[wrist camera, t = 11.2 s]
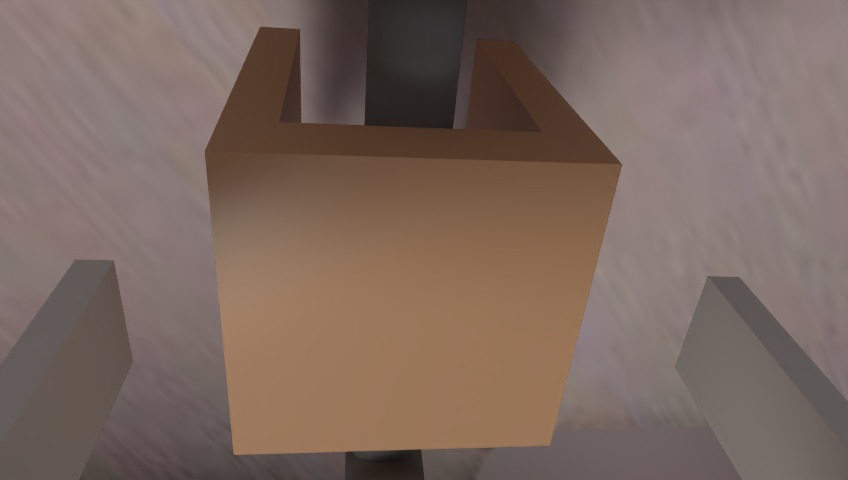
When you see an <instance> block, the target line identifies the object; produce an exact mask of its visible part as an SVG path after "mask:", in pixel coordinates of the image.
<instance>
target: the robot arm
mask: <svg viewBox="0 0 848 480" xmlns="http://www.w3.org/2000/svg"><path fill="white" fill-rule="evenodd" d="M132 362H133V359H132V354H131V349H130V344H129V338H128V333H127V328H126V322H125V317H124V312H123V306H122V301H121V296H120V291H119V285H118V280H117V275H116V269H115V264H114V261H109V260H75V261H74V262H73V264H72V265H71V266H70V268H69V269H68V271H67V272H66V274H65V275H64V276H63V278H62V279H61V281H60V282H59V283H58V285H57V286H56V288H55V289H54V290H53V292H52V293H51V295H50V296H49V298H48V299H47V300H46V302H45V303H44V305H43V306H42V307H41V309H40V310H39V312H38V313H37V314H36V316H35V317H34V319H33V320H32V321H31V323H30V324H29V326H28V327H27V329H26V330H25V331H24V333H23V334H22V336H21V337H20V338H19V340H18V341H17V343H16V344H15V345H14V347H13V348H12V350H11V351H10V352H9V354H8V355H7V357H6V358H5V360H4V361H3V362H2V364H1V365H0V480H79V479H80V476H81V474H82V472H83V470H84V468H85V465H86V463H87V461H88V459H89V457H90V454H91V452H92V450H93V448H94V446H95V443H96V441H97V439H98V437H99V435H100V432H101V430H102V428H103V426H104V424H105V421H106V419H107V417H108V415H109V413H110V410H111V408H112V406H113V404H114V402H115V400H116V397H117V395H118V393H119V391H120V389H121V386H122V384H123V382H124V380H125V378H126V375H127V373H128V371H129V369H130V367H131V364H132ZM675 368H676V370H677V372H678V373H679V375H680V377H681V378H682V380H683V382H684V383H685V385H686V387H687V388H688V390H689V392H690V393H691V395H692V397H693V398H694V400H695V402H696V403H697V405H698V407H699V408H700V410H701V412H702V413H703V415H704V417H705V418H706V420H707V422H708V423H709V425H710V427H711V428H712V430H713V432H714V433H715V435H716V437H717V438H718V440H719V442H720V443H721V445H722V447H723V448H724V450H725V452H726V453H727V455H728V457H729V458H730V460H731V462H732V463H733V465H734V467H735V468H736V470H737V472H738V473H739V475H740V477H741V478H742V480H848V401H847V400H846V399H845V398H844V397H843V395H842V394H841V393H840V392H839V391H838V390H837V389H836V387H835V386H834V385H833V384H832V383H831V382H830V381H829V379H828V378H827V377H826V376H825V375H824V374H823V373H822V371H821V370H820V369H819V368H818V367H817V366H816V365H815V363H814V362H813V361H812V360H811V359H810V358H809V357H808V355H807V354H806V353H805V352H804V351H803V350H802V349H801V347H800V346H799V345H798V344H797V343H796V342H795V341H794V339H793V338H792V337H791V336H790V335H789V334H788V333H787V331H786V330H785V329H784V328H783V327H782V326H781V325H780V323H779V322H778V321H777V320H776V319H775V318H774V317H773V315H772V314H771V313H770V312H769V311H768V310H767V309H766V307H765V306H764V305H763V304H762V303H761V302H760V301H759V299H758V298H757V297H756V296H755V295H754V294H753V293H752V291H751V290H750V289H749V288H748V287H747V286H746V285H745V283H744V282H743V281H742V280H741V279H740V278H739V277H715V276H708V277H707V280H706V283H705V285H704V288H703V291H702V294H701V296H700V299H699V302H698V305H697V307H696V310H695V313H694V316H693V318H692V321H691V324H690V327H689V329H688V332H687V335H686V338H685V340H684V343H683V346H682V349H681V351H680V354H679V357H678V360H677V362H676V365H675Z"/></svg>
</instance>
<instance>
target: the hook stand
mask: <svg viewBox="0 0 848 480" xmlns="http://www.w3.org/2000/svg"><path fill="white" fill-rule="evenodd" d="M466 5H467V0H369V19H368V46H367V73H366V99H365V125H366V126H392V127H416V128H445V129H453V123H454V114H455V104H456V95H457V86H458V77H459V68H460V59H461V50H462V41H463V32H464V23H465V14H466ZM345 480H424V472H423V463H422V454H421V449H414V450H380V451H346V460H345Z"/></svg>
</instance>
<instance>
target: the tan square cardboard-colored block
mask: <svg viewBox="0 0 848 480" xmlns="http://www.w3.org/2000/svg"><path fill="white" fill-rule="evenodd" d="M205 159H206V169H207V180H208V190H209V200H210V211H211V221H212V232H213V242H214V252H215V263H216V273H217V284H218V294H219V305H220V315H221V325H222V336H223V346H224V357H225V367H226V377H227V388H228V398H229V409H230V419H231V429H232V440H233V450H234V455H244V454H278V453H312V452H346V451H380V450H414V449H449V448H483V447H516V446H549V445H550V442H551V439H552V435H553V431H554V427H555V423H556V420H557V416H558V412H559V408H560V404H561V400H562V396H563V392H564V388H565V385H566V381H567V377H568V373H569V369H570V365H571V361H572V357H573V353H574V350H575V346H576V342H577V338H578V334H579V330H580V326H581V322H582V319H583V315H584V311H585V307H586V303H587V299H588V295H589V291H590V287H591V284H592V280H593V276H594V272H595V268H596V264H597V260H598V256H599V252H600V249H601V245H602V241H603V237H604V233H605V229H606V225H607V221H608V217H609V214H610V210H611V206H612V202H613V198H614V194H615V190H616V186H617V182H618V179H619V175H620V171H621V167H622V164H621V163H620V162H619V160H618V159H617V158H616V157H615V156H614V155H613V154H612V152H611V151H610V150H609V149H608V148H607V147H606V146H605V145H604V143H603V142H602V141H601V140H600V139H599V138H598V137H597V135H596V134H595V133H594V132H593V131H592V130H591V129H590V128H589V126H588V125H587V124H586V123H585V122H584V121H583V120H582V119H581V117H580V116H579V115H578V114H577V113H576V112H575V111H574V109H573V108H572V107H571V106H570V105H569V104H568V103H567V102H566V100H565V99H564V98H563V97H562V96H561V95H560V94H559V93H558V91H557V90H556V89H555V88H554V87H553V86H552V85H551V83H550V82H549V81H548V80H547V79H546V78H545V77H544V76H543V74H542V73H541V72H540V71H539V70H538V69H537V68H536V67H535V65H534V64H533V63H532V62H531V61H530V60H529V59H528V57H527V56H526V55H525V54H524V53H523V52H522V51H521V50H520V48H519V47H518V46H517V45H516V44H515V43H514V42H513V41H498V40H480V39H477V43H476V52H475V60H474V68H473V76H472V85H471V93H470V101H469V109H468V118H467V126H466V129H445V128H416V127H392V126H366V125H339V124H313V123H301V70H300V29H287V28H270V27H260V29H259V31H258V33H257V35H256V38H255V40H254V42H253V44H252V46H251V49H250V51H249V53H248V55H247V58H246V60H245V62H244V64H243V67H242V69H241V71H240V73H239V76H238V78H237V80H236V82H235V85H234V87H233V89H232V91H231V94H230V96H229V98H228V100H227V103H226V105H225V107H224V109H223V112H222V114H221V116H220V118H219V121H218V123H217V125H216V127H215V130H214V132H213V134H212V136H211V138H210V141H209V143H208V145H207V147H206V150H205Z"/></svg>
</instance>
